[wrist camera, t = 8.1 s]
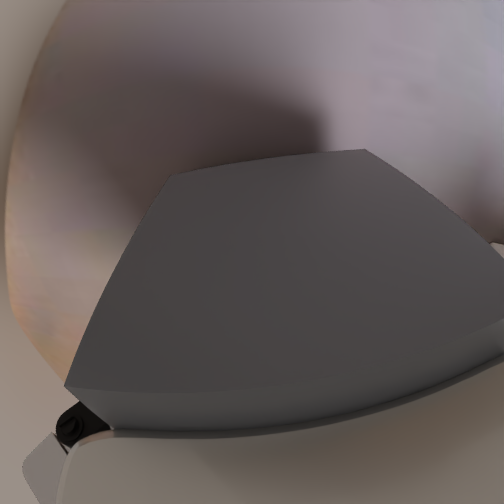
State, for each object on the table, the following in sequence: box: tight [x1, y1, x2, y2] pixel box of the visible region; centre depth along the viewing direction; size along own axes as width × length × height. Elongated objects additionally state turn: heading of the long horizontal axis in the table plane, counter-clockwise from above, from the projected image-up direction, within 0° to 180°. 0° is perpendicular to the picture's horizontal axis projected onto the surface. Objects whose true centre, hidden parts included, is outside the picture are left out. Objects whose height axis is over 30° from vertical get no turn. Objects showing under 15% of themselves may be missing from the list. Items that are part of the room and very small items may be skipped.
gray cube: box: [64, 149, 504, 431], centre depth 9 cm, size 8×8×9 cm
